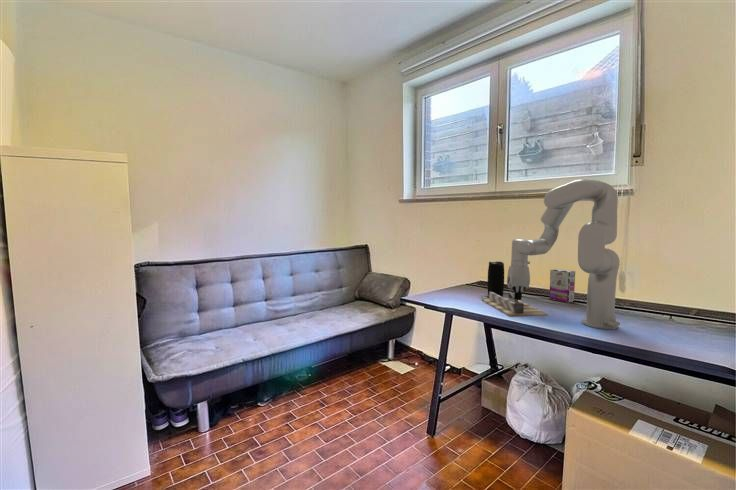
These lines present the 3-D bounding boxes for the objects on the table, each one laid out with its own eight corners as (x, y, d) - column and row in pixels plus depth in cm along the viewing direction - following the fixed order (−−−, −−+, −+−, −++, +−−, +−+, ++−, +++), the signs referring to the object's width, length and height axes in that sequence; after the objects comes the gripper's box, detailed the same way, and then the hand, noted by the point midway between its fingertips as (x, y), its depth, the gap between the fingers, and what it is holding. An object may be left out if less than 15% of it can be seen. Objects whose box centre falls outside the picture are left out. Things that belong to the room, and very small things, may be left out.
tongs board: (547, 315, 155) (547, 303, 155) (509, 316, 154) (509, 304, 153) (513, 299, 185) (514, 289, 184) (481, 300, 183) (481, 290, 183)
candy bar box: (574, 302, 179) (576, 271, 177) (568, 303, 177) (569, 271, 175) (555, 297, 189) (556, 268, 187) (548, 298, 187) (550, 268, 185)
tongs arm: (520, 311, 157) (520, 303, 157) (515, 311, 157) (516, 303, 157) (511, 298, 181) (511, 291, 181) (508, 298, 182) (508, 291, 181)
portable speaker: (497, 294, 197) (498, 260, 195) (507, 298, 187) (508, 263, 186) (483, 295, 195) (484, 261, 193) (492, 299, 186) (493, 263, 184)
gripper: (529, 262, 176) (528, 297, 178) (501, 262, 175) (500, 298, 177) (537, 264, 168) (536, 301, 170) (508, 264, 167) (507, 301, 169)
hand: (517, 299), depth 173 cm, fingers closed
